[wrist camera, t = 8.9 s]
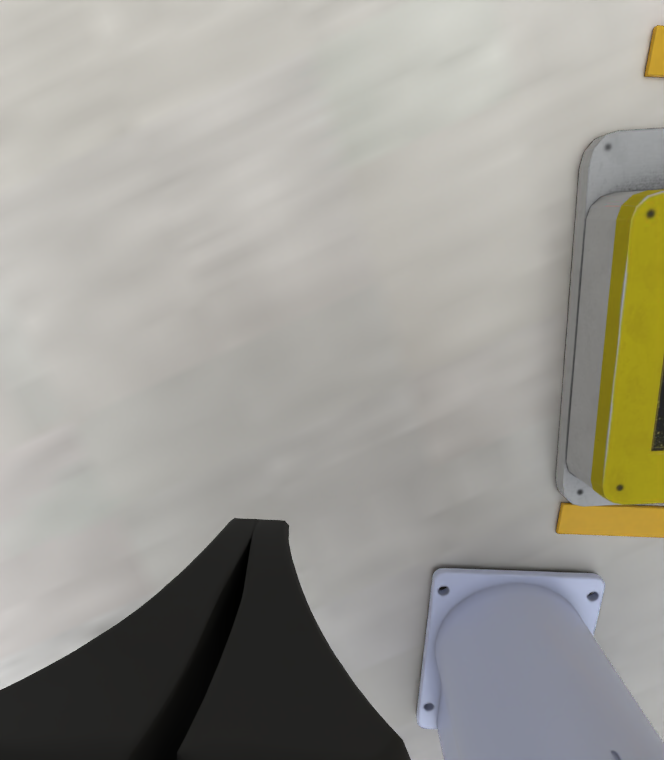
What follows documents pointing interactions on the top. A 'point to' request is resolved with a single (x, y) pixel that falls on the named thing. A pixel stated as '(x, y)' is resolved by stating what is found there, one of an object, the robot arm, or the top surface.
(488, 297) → the top surface
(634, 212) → the emergency button
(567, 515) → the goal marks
